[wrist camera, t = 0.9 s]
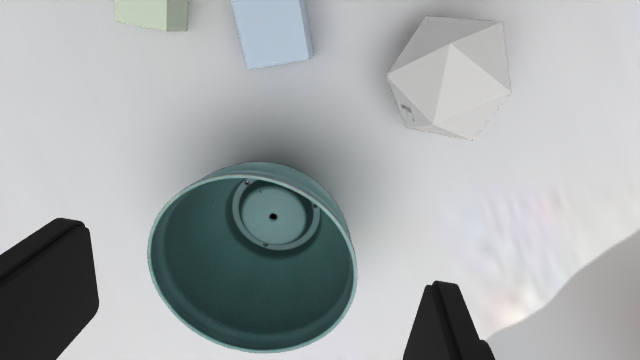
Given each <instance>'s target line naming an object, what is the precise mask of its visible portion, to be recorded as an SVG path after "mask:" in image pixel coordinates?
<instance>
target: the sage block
mask: <svg viewBox="0 0 640 360" xmlns="http://www.w3.org/2000/svg"><path fill="white" fill-rule="evenodd" d="M187 19H188V0H115V22H120V23H125V24H130V25H135V26H140V27H146V28H151V29H156V30H161V31H166V32H168V31H187Z"/></svg>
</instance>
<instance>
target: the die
mask: <svg viewBox="0 0 640 360" xmlns="http://www.w3.org/2000/svg"><path fill="white" fill-rule="evenodd" d="M386 77H387V79H388V82H389V85H390V87H391V90H392V93H393V95H394V98H395V101H396V103H397V106H398V109H399V111H400V114H401V117H402V119H403V122H404V125H405V127H406V128H409V129H414V130H419V131H424V132H430V133H435V134H440V135H446V136H451V137H456V138H461V139H467V140H472V141H473V139H474V138H475V137H476V136H477V134H478V133H479V132H480V131H481V129H482V128H483V127H484V126H485V124H486V123H487V122H488V121H489V120H490V118H491V117H492V116H493V115H494V113H495V112H496V111H497V110H498V108H499V107H500V106H501V105H502V103H503V102H504V101H505V100H506V99H507V97H508V96H509V95H510V94H511V83H510V75H509V67H508V59H507V51H506V43H505V34H504V26H503V22H500V21H487V20H474V19H460V18H447V17H434V16H426V17H425V18H424V19H423V21H422V22H421V24H420V25H419V27H418V28H417V30H416V31H415V33H414V34H413V36H412V37H411V39H410V40H409V42H408V43H407V45H406V46H405V48H404V49H403V51H402V52H401V54H400V55H399V56H398V58H397V59H396V61H395V62H394V64H393V65H392V67H391V68H390V70H389V71H388V73H387V74H386Z"/></svg>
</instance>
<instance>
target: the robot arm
mask: <svg viewBox="0 0 640 360" xmlns="http://www.w3.org/2000/svg"><path fill="white" fill-rule="evenodd" d="M98 307H99V298H98V291H97V283H96V275H95V268H94V260H93V253H92V245H91V238H90V232H89V229H88V228H86V227H85V225H84V223H83V222H81V221H77V220H71V219H65V218H57V219H54V220H53V221H51V222H50V223H48V224H47V225H45V226H44V227H42V228H41V229H39V230H38V231H36V232H34V233H33V234H31V235H30V236H28V237H27V238H25V239H24V240H22V241H21V242H19V243H18V244H16V245H15V246H13V247H12V248H10V249H9V250H7V251H6V252H4V253H3V254H1V255H0V360H56V359H57V358H58V357H59V356H60V354H61V353H62V352H63V351H64V350H65V349H66V348H67V346H68V345H69V344H70V343H71V342H72V341H73V340H74V339H75V337H76V336H77V335H78V334H79V333H80V332H81V331H82V329H83V328H84V327H85V326H86V325H87V324H88V323H89V322H90V320H91V319H92V318H93V317H94V316H95V314H96V312H97V310H98ZM403 360H495V358H494V356H493V353H492V351H491V349H490V347H489V345H488V343H487V342H485V341H484V340H480V339H479V337H478V334H477V332H476V329H475V327H474V324H473V321H472V319H471V316H470V314H469V311H468V309H467V306H466V304H465V301H464V299H463V296H462V294H461V291H460V289H459V287H458V285H457V284H454V283H448V282H442V281H434V282H433V284H432V285H426V287H425V289H424V293H423V296H422V299H421V302H420V305H419V308H418V311H417V314H416V318H415V321H414V324H413V327H412V330H411V333H410V336H409V339H408V343H407V346H406V349H405V352H404V355H403Z"/></svg>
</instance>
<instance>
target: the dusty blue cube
mask: <svg viewBox="0 0 640 360" xmlns="http://www.w3.org/2000/svg"><path fill="white" fill-rule="evenodd" d="M231 4H232V8H233V12H234V16H235V21H236V25H237V29H238V34H239V38H240V42H241V47H242V51H243V55H244V59H245V64H246V68H247V70H251V69H257V68H263V67H268V66H274V65H280V64H286V63H292V62H298V61H304V60H309V59H310V58H312V57H313V56H314V53H313V47H312V41H311V35H310V29H309V23H308V17H307V11H306V5H305V0H232V1H231Z"/></svg>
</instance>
